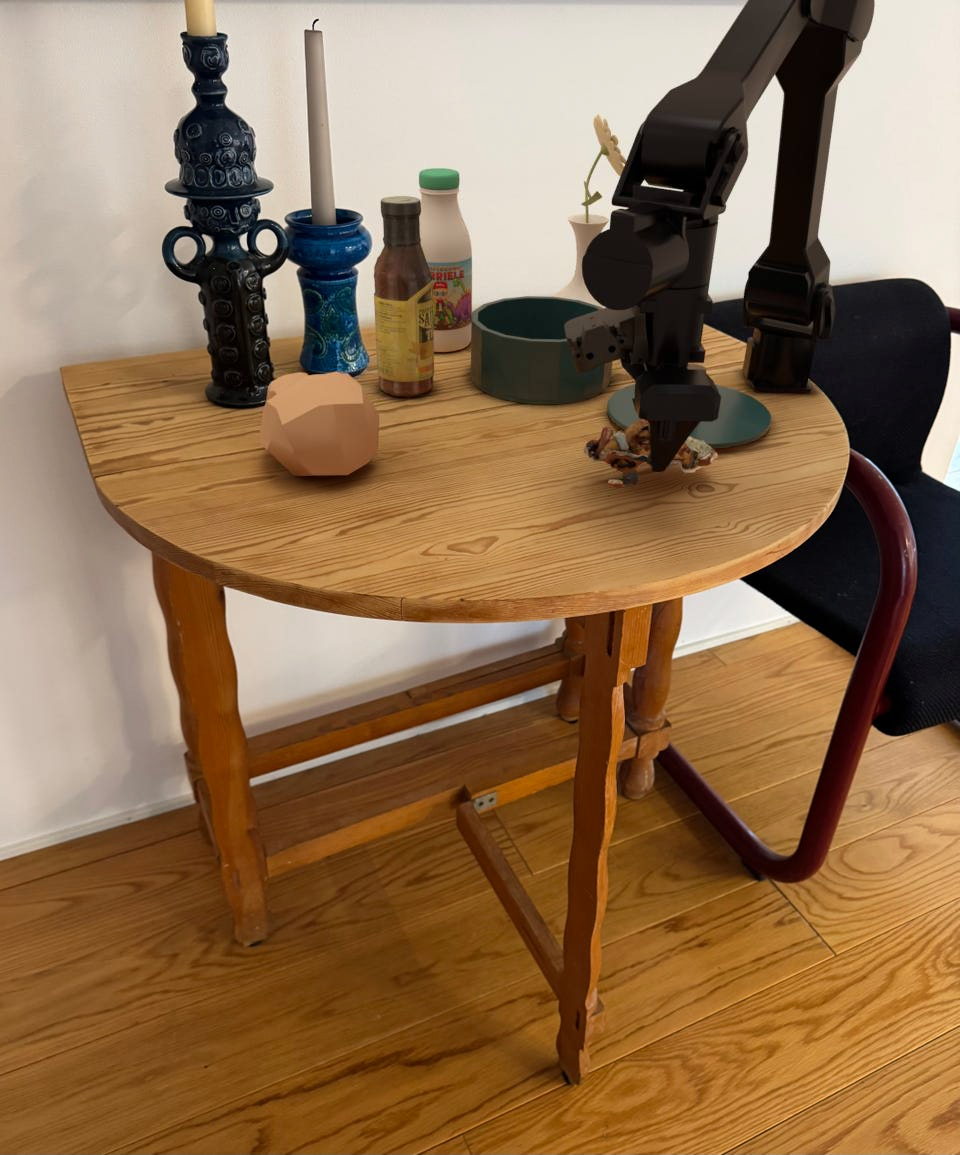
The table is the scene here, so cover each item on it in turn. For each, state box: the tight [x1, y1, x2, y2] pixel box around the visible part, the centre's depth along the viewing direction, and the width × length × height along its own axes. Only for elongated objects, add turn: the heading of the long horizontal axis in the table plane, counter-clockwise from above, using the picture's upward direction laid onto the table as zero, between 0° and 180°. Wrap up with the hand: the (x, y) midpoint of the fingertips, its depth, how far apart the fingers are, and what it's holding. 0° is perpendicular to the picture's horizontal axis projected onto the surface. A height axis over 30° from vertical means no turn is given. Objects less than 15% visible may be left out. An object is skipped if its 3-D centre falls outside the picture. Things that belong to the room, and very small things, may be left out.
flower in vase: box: [551, 113, 627, 309], centre depth 117 cm, size 13×11×25 cm
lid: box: [606, 363, 772, 449], centre depth 98 cm, size 17×17×6 cm
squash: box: [257, 371, 380, 477], centre depth 90 cm, size 11×20×9 cm, turn 24°
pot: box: [470, 295, 613, 405], centre depth 107 cm, size 16×16×7 cm
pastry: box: [583, 419, 719, 489], centre depth 85 cm, size 7×12×4 cm, turn 113°
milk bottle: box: [418, 167, 473, 353], centre depth 112 cm, size 8×8×20 cm
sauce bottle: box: [373, 195, 435, 397], centre depth 100 cm, size 6×6×20 cm
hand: (652, 454), depth 85 cm, fingers closed on pastry, 6 cm apart
